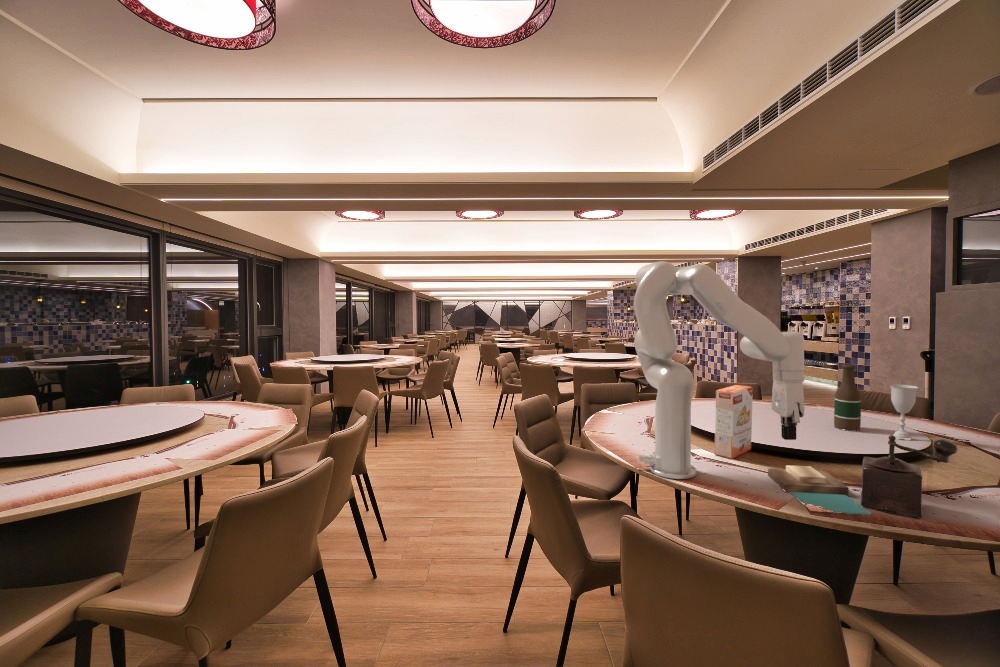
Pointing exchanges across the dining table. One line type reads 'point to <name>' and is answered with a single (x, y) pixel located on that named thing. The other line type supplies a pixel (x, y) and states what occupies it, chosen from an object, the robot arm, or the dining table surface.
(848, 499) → the teal mat
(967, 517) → the dining table surface
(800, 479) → the maple tile
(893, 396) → the chalice
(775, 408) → the robot arm
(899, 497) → the brown manual coffee grinder
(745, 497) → the dining table surface
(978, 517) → the dining table surface
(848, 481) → the dining table surface
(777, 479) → the board
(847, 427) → the beer bottle
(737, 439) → the cracker box
